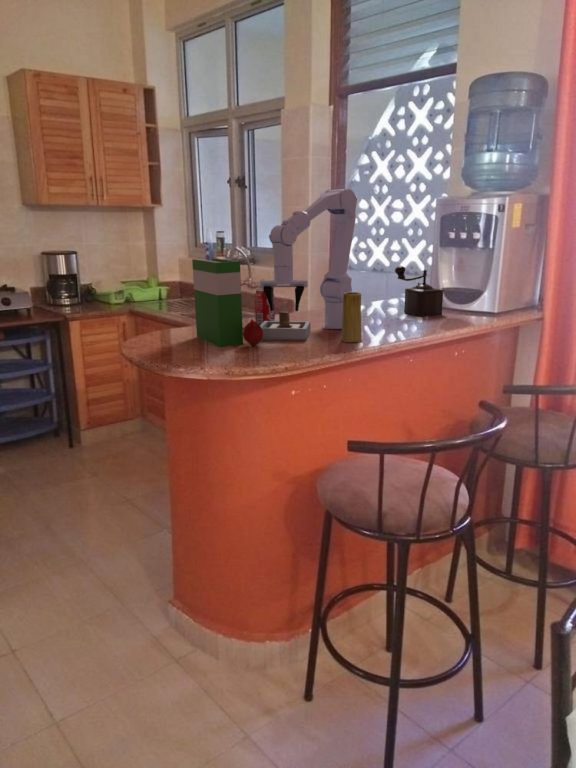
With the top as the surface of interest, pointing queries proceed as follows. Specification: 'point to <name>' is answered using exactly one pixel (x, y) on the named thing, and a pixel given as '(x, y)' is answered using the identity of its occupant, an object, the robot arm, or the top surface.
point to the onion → (253, 333)
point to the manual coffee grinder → (421, 297)
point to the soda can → (263, 307)
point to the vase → (351, 317)
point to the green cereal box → (218, 301)
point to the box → (286, 331)
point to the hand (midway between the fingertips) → (284, 310)
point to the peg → (284, 319)
